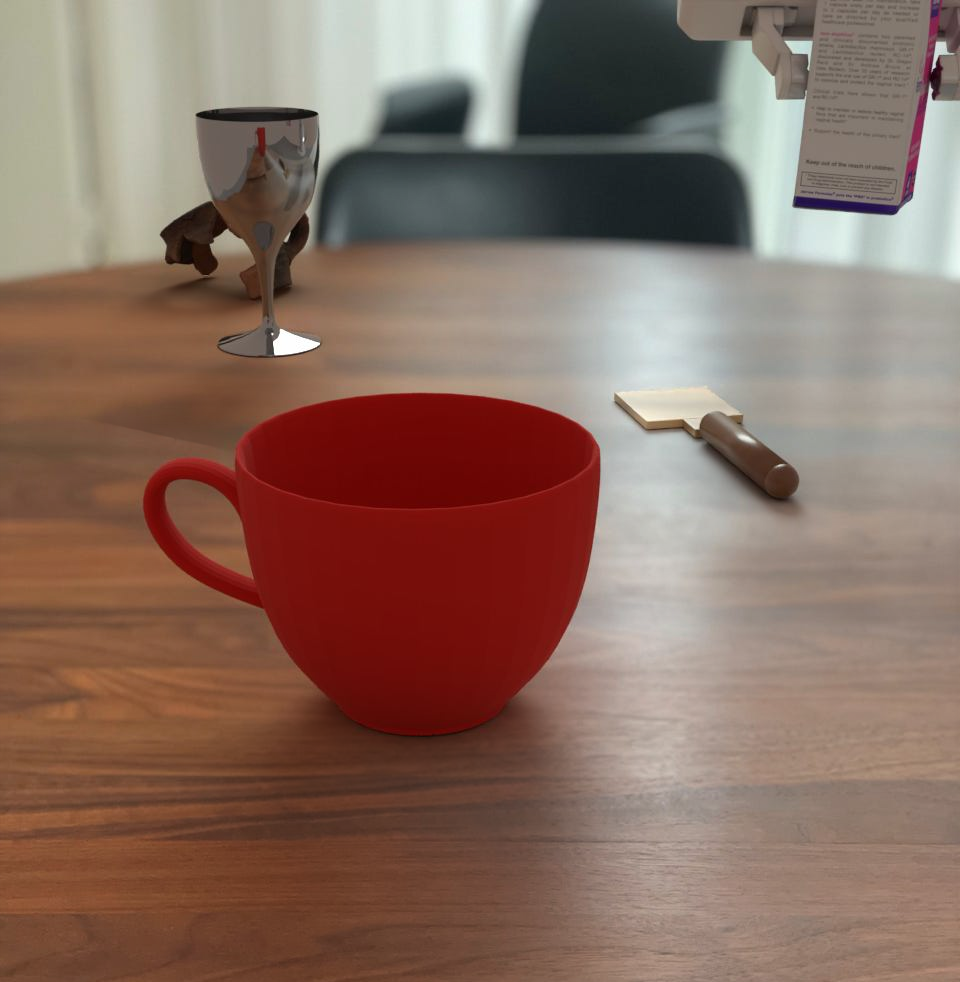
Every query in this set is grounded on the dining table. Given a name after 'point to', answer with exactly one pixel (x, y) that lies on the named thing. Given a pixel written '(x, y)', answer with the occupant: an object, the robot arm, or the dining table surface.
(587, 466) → the ceramic cup
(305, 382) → the dining table surface
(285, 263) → the brown irregular piece
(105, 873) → the dining table surface
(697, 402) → the spatula
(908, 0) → the supplement box
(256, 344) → the wine glass
